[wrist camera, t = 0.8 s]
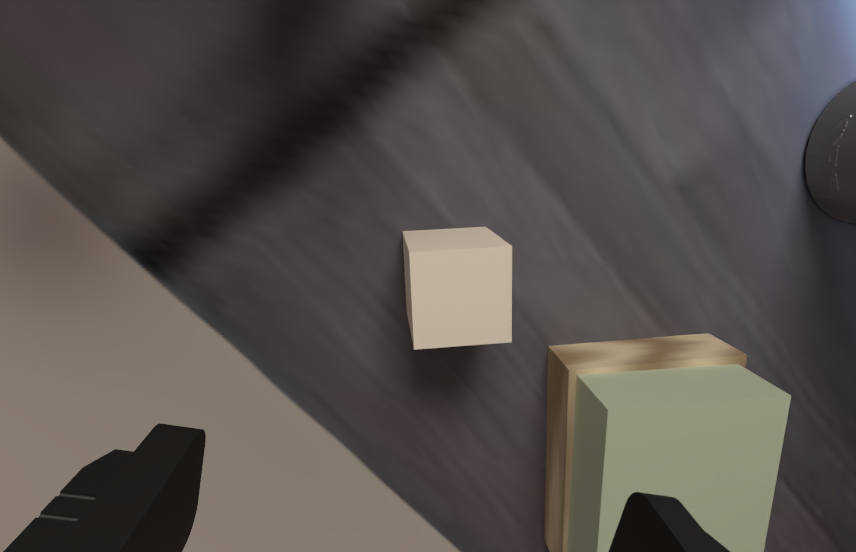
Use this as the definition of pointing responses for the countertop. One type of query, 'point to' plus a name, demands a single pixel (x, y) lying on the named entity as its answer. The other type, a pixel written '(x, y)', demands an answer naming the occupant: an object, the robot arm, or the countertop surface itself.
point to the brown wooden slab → (605, 359)
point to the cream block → (457, 287)
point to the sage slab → (677, 450)
